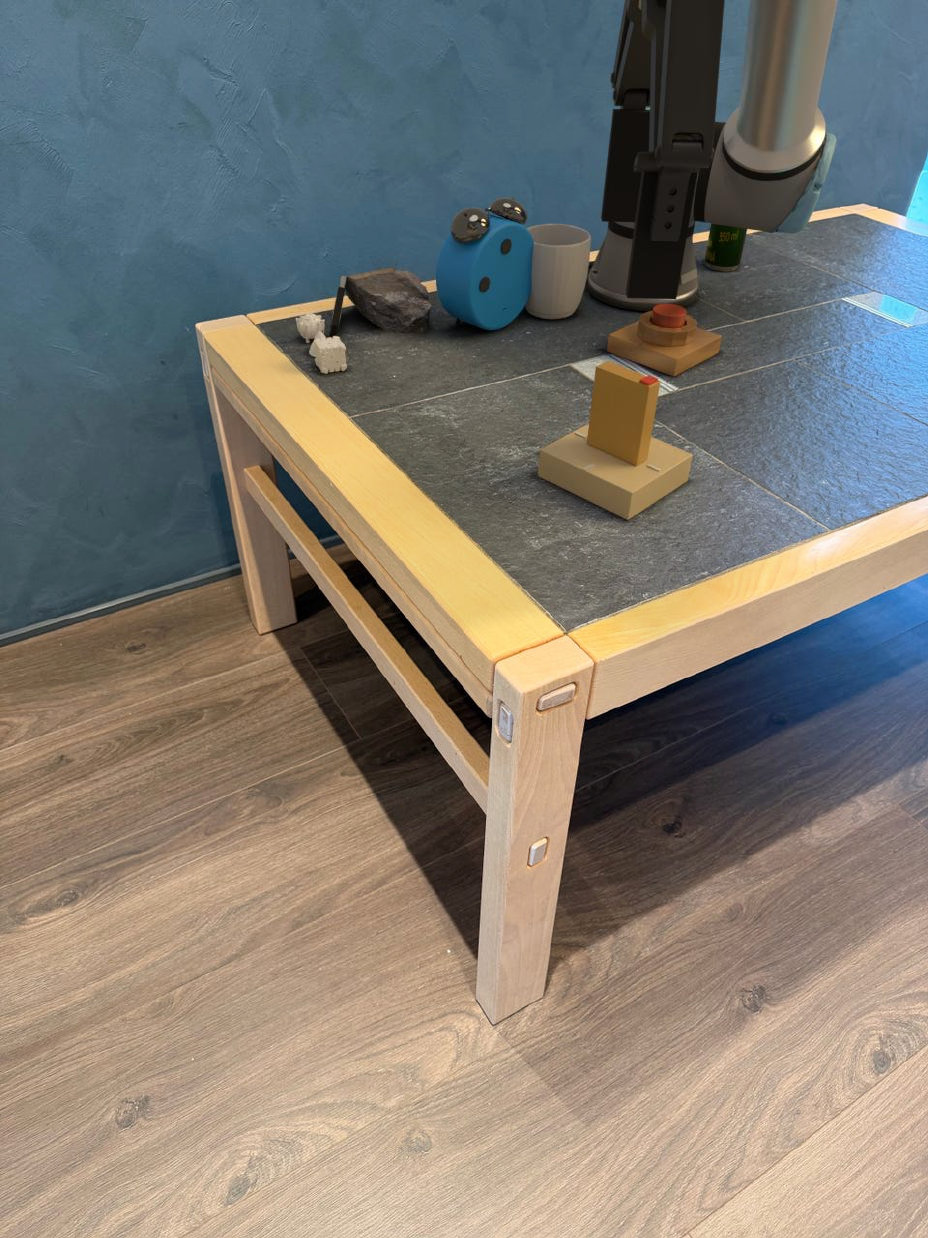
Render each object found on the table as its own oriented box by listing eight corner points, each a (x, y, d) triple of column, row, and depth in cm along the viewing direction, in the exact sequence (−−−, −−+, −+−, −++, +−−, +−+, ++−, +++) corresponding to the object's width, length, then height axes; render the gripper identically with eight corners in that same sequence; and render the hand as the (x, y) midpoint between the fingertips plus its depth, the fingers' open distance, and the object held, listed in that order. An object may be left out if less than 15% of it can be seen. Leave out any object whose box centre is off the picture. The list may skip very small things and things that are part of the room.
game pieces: (348, 371, 107) (346, 345, 105) (321, 375, 106) (318, 349, 104) (321, 331, 116) (318, 307, 113) (295, 335, 115) (293, 310, 112)
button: (644, 323, 111) (646, 309, 109) (663, 314, 113) (665, 300, 112) (671, 333, 108) (674, 318, 107) (690, 324, 111) (693, 309, 110)
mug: (596, 308, 123) (604, 232, 117) (560, 329, 118) (566, 250, 111) (520, 287, 129) (523, 213, 123) (482, 306, 124) (483, 229, 117)
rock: (328, 310, 120) (327, 268, 116) (388, 293, 127) (389, 253, 123) (405, 343, 113) (407, 300, 109) (465, 323, 120) (468, 282, 116)
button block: (606, 351, 113) (610, 319, 110) (652, 329, 118) (657, 299, 116) (673, 376, 107) (679, 344, 105) (718, 352, 113) (725, 321, 110)
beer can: (731, 259, 140) (748, 175, 132) (744, 271, 136) (763, 185, 128) (698, 260, 139) (713, 176, 132) (711, 272, 135) (727, 186, 128)
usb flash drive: (338, 327, 112) (330, 325, 112) (332, 354, 117) (325, 352, 117) (348, 275, 116) (340, 273, 116) (342, 303, 121) (334, 302, 120)
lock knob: (586, 443, 88) (595, 363, 83) (597, 437, 89) (607, 358, 84) (636, 466, 85) (649, 384, 80) (647, 459, 86) (661, 378, 81)
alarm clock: (502, 304, 124) (506, 186, 114) (536, 316, 121) (544, 197, 111) (434, 331, 117) (432, 208, 107) (469, 345, 113) (470, 220, 104)
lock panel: (536, 476, 89) (539, 448, 87) (599, 441, 95) (603, 413, 93) (627, 520, 84) (631, 491, 82) (688, 480, 89) (694, 452, 87)
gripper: (869, -239, 32) (740, 339, 46) (725, -204, 51) (664, 196, 65) (657, -244, 32) (592, 336, 46) (592, -207, 51) (560, 194, 65)
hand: (634, 255), depth 55 cm, fingers open, 13 cm apart
